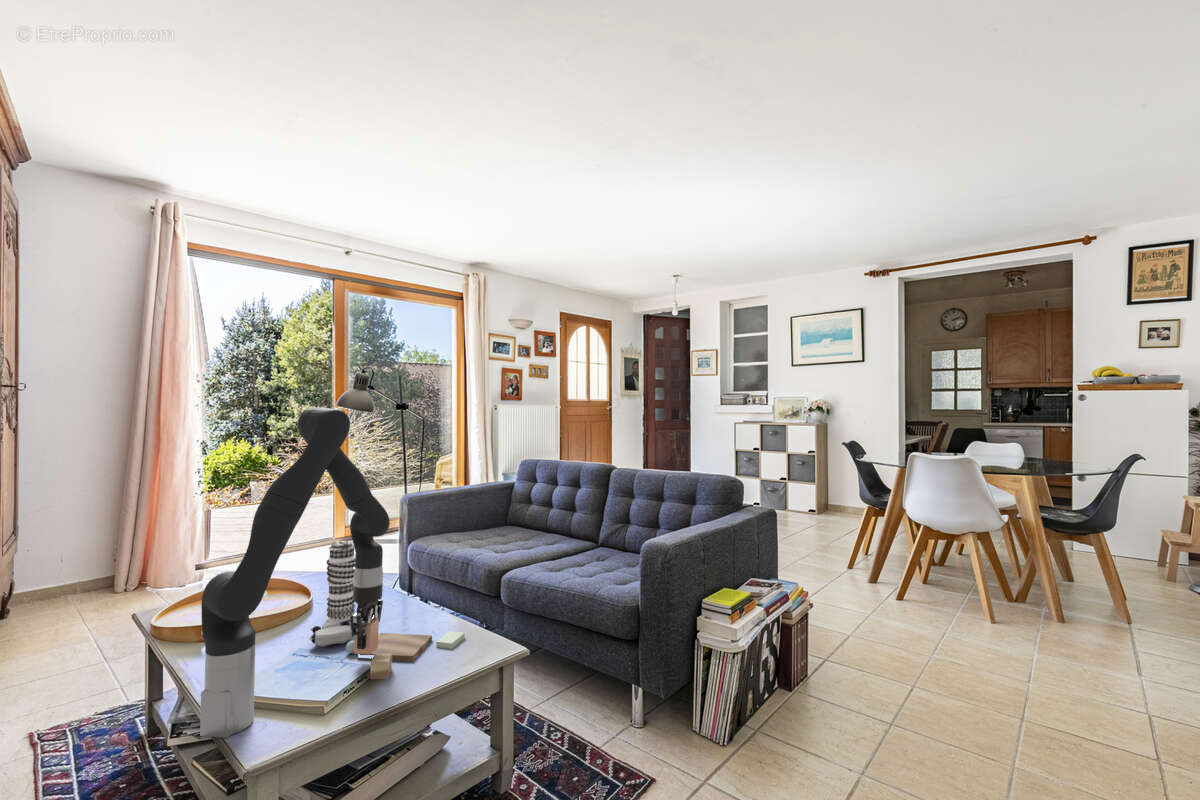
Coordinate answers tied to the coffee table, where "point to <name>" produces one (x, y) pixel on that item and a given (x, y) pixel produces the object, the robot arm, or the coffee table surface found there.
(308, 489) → the robot arm
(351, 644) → the grey ball
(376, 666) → the beech cube
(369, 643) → the terracotta block
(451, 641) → the sage flat block
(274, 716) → the coffee table surface
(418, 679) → the coffee table surface
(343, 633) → the robot toy
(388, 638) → the walnut board
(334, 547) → the grey banded tower model
